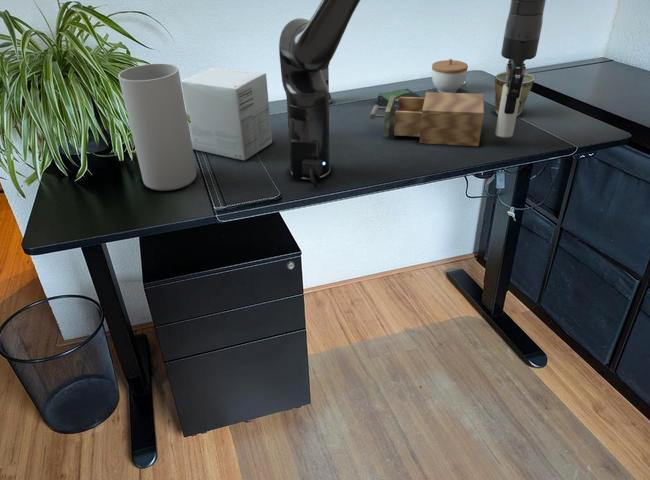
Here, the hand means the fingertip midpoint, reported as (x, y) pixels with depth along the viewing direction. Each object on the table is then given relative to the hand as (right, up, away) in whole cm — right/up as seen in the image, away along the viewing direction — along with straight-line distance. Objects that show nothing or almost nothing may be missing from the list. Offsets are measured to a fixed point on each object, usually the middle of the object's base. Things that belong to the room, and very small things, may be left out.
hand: (508, 109), depth 131 cm
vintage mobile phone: (-44, +13, +37) cm, 58 cm away
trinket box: (-4, +18, +40) cm, 44 cm away
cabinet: (-11, -3, +12) cm, 17 cm away
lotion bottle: (0, -5, +4) cm, 6 cm away
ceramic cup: (+9, +6, +23) cm, 26 cm away
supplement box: (-68, -6, +12) cm, 69 cm away
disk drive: (-20, +9, +30) cm, 37 cm away
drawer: (-22, -1, +14) cm, 27 cm away
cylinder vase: (-81, -18, -2) cm, 83 cm away
